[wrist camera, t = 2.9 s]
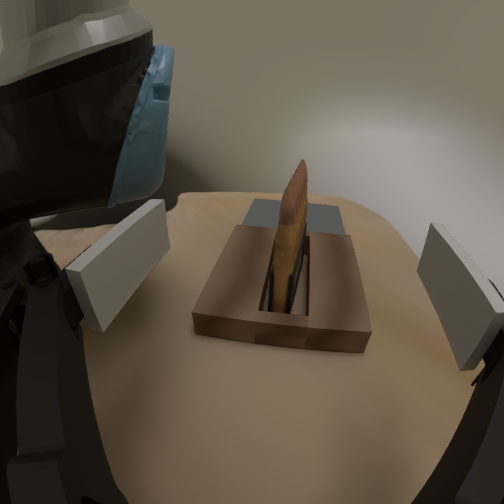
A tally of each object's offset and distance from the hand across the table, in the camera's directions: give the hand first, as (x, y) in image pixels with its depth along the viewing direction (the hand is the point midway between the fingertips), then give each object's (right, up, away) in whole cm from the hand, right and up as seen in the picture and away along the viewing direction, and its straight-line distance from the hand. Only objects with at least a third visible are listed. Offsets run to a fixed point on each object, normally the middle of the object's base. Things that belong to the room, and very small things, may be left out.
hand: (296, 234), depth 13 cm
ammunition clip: (+2, -5, +16) cm, 17 cm away
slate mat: (+4, +3, +28) cm, 29 cm away
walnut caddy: (+2, -4, +16) cm, 16 cm away
